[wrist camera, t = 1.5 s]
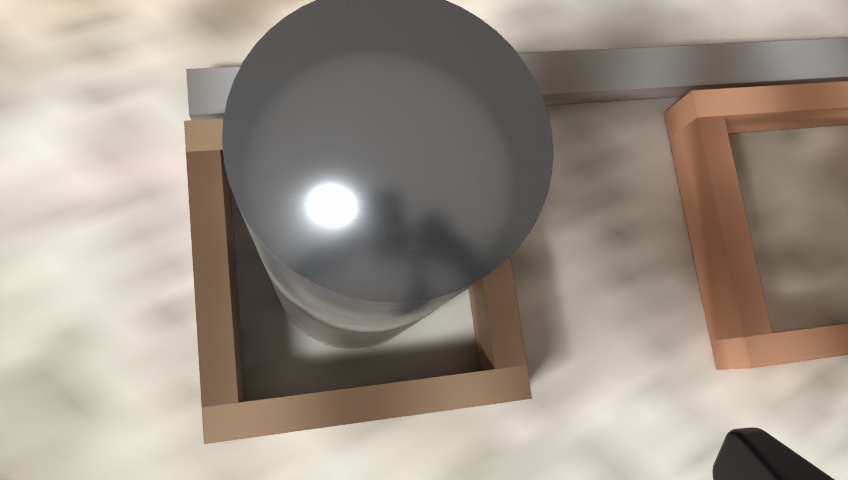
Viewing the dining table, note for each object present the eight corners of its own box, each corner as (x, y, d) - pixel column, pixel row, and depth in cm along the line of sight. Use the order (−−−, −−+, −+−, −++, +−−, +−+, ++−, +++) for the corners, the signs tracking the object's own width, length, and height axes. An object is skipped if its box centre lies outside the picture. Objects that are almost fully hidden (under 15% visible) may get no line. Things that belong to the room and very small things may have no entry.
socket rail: (870, 47, 28) (911, 22, 26) (949, 337, 26) (1000, 333, 24) (191, 82, 23) (180, 54, 21) (214, 438, 21) (204, 443, 19)
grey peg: (459, 250, 23) (608, 105, 11) (375, 380, 22) (443, 371, 10) (333, 166, 23) (349, -70, 11) (241, 291, 22) (149, 173, 10)
